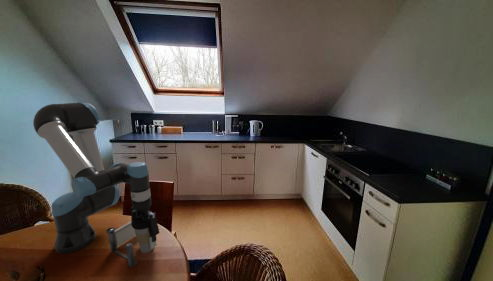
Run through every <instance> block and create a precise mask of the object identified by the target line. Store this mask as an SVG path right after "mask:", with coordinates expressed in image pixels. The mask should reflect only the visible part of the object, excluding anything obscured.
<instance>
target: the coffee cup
mask: <svg viewBox="0 0 493 281" xmlns="http://www.w3.org/2000/svg"><path fill="white" fill-rule="evenodd" d="M148 218H149V217H148ZM146 219H147V218H146ZM148 224H149V225H148ZM132 227H133V228H134V229H135V234H136V235H135V237H136V238H135V239H136V242H137V244H138V247H139V250H140V252H141V253H144V254H147V253H150V252H151V251H153V249H155V247H154V248H153V249H150V241H149V235H150V233H149V231H148V228H149V227H151V225H150V221H149V222H146V223H145V222H144V221H143V219H142V218H139V219H137V218H135V219H134V222H133V223H132Z"/></svg>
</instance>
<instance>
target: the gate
mask: <svg viewBox="0 0 493 281" xmlns="http://www.w3.org/2000/svg"><path fill="white" fill-rule="evenodd" d="M114 233H115V240H116V246H117V248H118V247H120V246H121V245H123V244H125V243H126V242H127V241H129V240H131V239H132V238H134V237H136V234H135V229H134V228H133V227H132V225H131V220H130V221H128V222H127V223H125V224H123V225H121V226H120V227H118V228H117V229H116V228H115V231H114Z"/></svg>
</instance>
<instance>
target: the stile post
mask: <svg viewBox="0 0 493 281" xmlns="http://www.w3.org/2000/svg"><path fill="white" fill-rule="evenodd" d="M133 245H134V244H133V243H131V242H128V243H126V244H125V250H126V256H127V258H128V259H127V263H128V267H130V268H134V267H135V266H136V264H135V261H136V259H135V254H134V253H135V252H134V246H133Z"/></svg>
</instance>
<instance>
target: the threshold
mask: <svg viewBox="0 0 493 281" xmlns="http://www.w3.org/2000/svg"><path fill="white" fill-rule="evenodd" d="M114 253H115V254H117V255H119V256H121V257H122V258H124V259H126V260H128V258H127V254H125V253H123V252H121V251H119V250H117V251H115V252H114ZM137 263H138V261H137V260H135V265H136V264H137Z"/></svg>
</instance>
